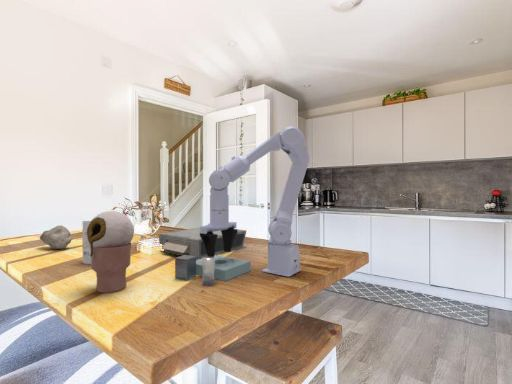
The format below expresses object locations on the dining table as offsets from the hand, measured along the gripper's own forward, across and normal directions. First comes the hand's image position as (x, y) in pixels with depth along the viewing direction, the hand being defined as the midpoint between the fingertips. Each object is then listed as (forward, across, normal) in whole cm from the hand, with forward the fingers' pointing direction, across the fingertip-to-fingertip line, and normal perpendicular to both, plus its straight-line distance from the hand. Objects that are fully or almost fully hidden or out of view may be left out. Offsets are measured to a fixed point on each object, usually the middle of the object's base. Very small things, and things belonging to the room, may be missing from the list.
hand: (219, 254), depth 90 cm
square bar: (+6, +10, -4) cm, 12 cm away
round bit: (+6, +10, +5) cm, 12 cm away
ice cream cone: (+6, +27, -13) cm, 31 cm away
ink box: (+6, +16, -42) cm, 45 cm away
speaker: (+6, -19, -27) cm, 34 cm away
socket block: (+6, 0, 0) cm, 6 cm away
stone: (+6, +14, -80) cm, 81 cm away
